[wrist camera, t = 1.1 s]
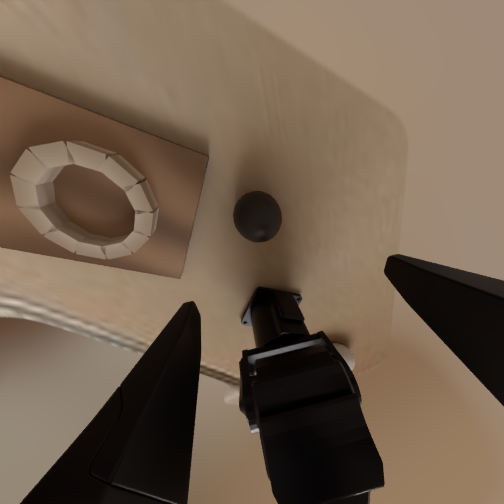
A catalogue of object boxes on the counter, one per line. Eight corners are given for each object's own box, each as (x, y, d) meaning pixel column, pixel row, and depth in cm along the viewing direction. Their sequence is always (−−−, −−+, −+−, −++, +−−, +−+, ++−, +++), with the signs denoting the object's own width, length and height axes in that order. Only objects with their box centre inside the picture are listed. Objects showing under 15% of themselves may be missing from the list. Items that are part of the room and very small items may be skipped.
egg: (224, 216, 17) (225, 239, 13) (247, 178, 16) (257, 190, 12) (258, 236, 19) (269, 262, 15) (282, 202, 18) (302, 222, 13)
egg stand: (182, 273, 20) (177, 288, 18) (12, 241, 16) (-21, 257, 14) (209, 156, 15) (207, 158, 13) (-35, 62, 10) (-100, 41, 8)
